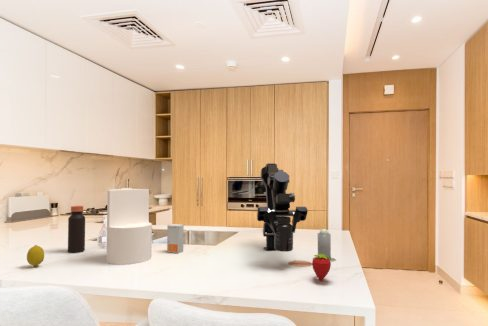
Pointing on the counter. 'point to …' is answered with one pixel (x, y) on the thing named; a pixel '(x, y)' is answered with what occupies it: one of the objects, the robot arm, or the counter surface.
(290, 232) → the supplement bottle
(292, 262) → the card
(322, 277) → the strawberry
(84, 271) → the counter surface
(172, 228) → the skincare box
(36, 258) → the lemon
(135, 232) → the white stepped holder
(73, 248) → the vinegar
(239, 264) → the counter surface
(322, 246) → the grey tube
